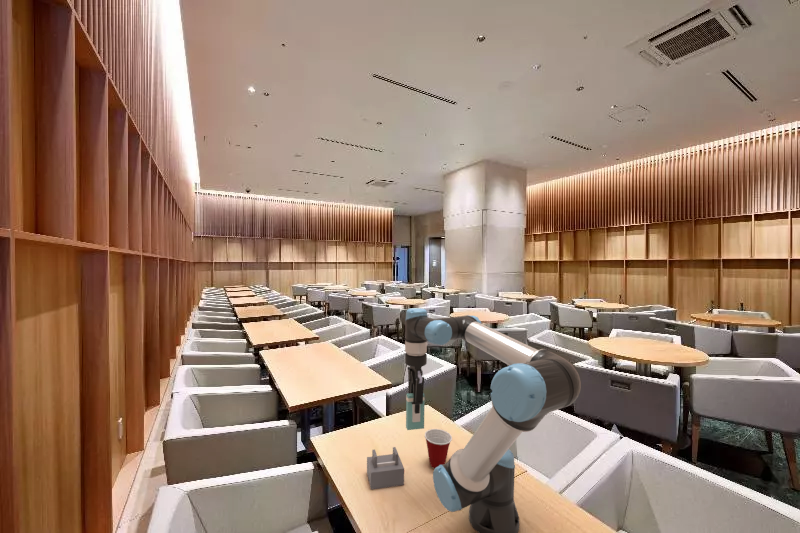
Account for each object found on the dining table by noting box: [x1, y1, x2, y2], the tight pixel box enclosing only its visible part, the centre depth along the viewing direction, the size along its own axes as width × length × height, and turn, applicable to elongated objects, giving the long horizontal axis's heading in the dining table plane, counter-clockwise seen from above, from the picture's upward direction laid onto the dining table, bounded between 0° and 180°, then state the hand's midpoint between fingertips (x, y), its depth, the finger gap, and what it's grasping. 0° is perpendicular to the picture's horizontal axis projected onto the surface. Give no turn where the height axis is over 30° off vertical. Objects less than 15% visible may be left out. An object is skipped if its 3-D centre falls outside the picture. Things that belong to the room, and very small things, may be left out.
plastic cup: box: [424, 428, 453, 469], centre depth 139 cm, size 11×11×12 cm
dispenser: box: [366, 446, 405, 491], centre depth 131 cm, size 10×12×10 cm
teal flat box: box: [405, 392, 426, 431], centre depth 124 cm, size 2×6×12 cm, turn 103°
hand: (415, 419), depth 124 cm, fingers closed on teal flat box, 2 cm apart
